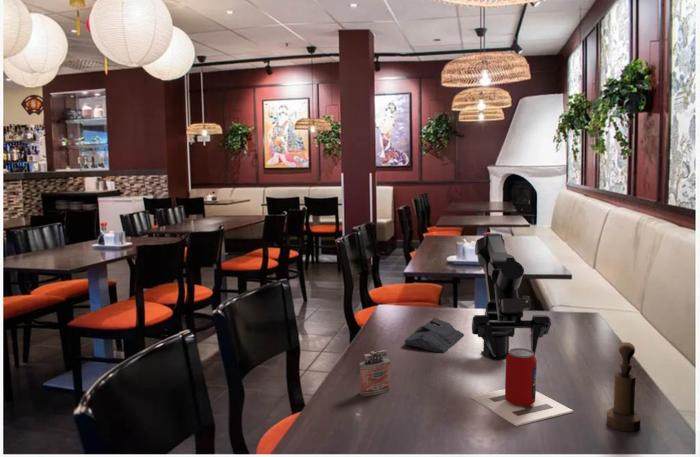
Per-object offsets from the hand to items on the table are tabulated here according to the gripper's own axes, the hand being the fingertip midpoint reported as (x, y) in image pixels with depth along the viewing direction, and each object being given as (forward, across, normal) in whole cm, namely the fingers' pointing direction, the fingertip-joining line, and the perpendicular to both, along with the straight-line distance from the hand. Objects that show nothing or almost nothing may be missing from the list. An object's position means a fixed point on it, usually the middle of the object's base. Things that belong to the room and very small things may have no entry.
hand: (514, 356), depth 139 cm
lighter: (+8, -34, +3) cm, 35 cm away
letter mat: (+12, 0, 0) cm, 12 cm away
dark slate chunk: (-20, -19, +33) cm, 43 cm away
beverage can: (+12, 0, 0) cm, 12 cm away
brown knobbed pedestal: (+18, +20, -5) cm, 27 cm away
